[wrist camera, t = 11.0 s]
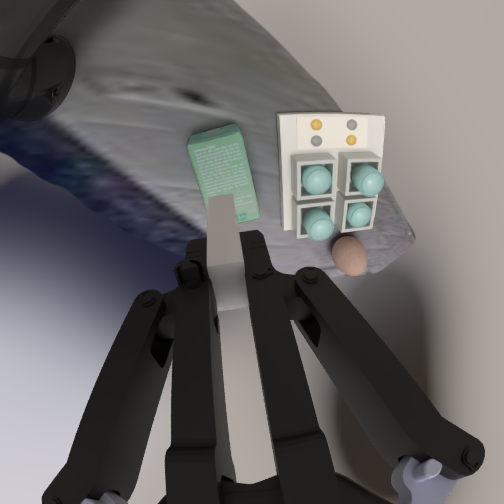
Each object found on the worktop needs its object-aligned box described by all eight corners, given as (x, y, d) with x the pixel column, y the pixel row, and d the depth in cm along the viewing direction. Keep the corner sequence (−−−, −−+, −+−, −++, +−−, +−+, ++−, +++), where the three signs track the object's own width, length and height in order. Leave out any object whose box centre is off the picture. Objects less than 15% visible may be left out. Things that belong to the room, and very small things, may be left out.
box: (237, 120, 37) (241, 129, 31) (255, 197, 45) (262, 219, 39) (189, 133, 37) (184, 145, 31) (213, 208, 46) (213, 231, 40)
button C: (351, 163, 38) (361, 171, 35) (375, 163, 38) (386, 170, 36) (349, 189, 40) (358, 198, 38) (373, 187, 41) (382, 196, 38)
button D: (343, 198, 44) (350, 206, 41) (365, 196, 44) (373, 204, 41) (341, 220, 46) (348, 229, 44) (362, 217, 47) (370, 226, 44)
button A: (297, 161, 39) (304, 168, 37) (325, 160, 39) (332, 166, 37) (298, 188, 42) (304, 196, 39) (324, 185, 42) (331, 193, 40)
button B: (302, 208, 42) (308, 219, 39) (328, 206, 42) (335, 215, 39) (301, 232, 44) (307, 243, 42) (326, 229, 45) (333, 239, 42)
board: (276, 113, 37) (285, 118, 33) (378, 114, 38) (396, 120, 34) (281, 224, 49) (288, 241, 45) (369, 214, 50) (382, 229, 46)
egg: (329, 228, 51) (347, 257, 44) (358, 228, 52) (379, 255, 44) (323, 256, 55) (339, 286, 48) (351, 254, 56) (369, 283, 48)
